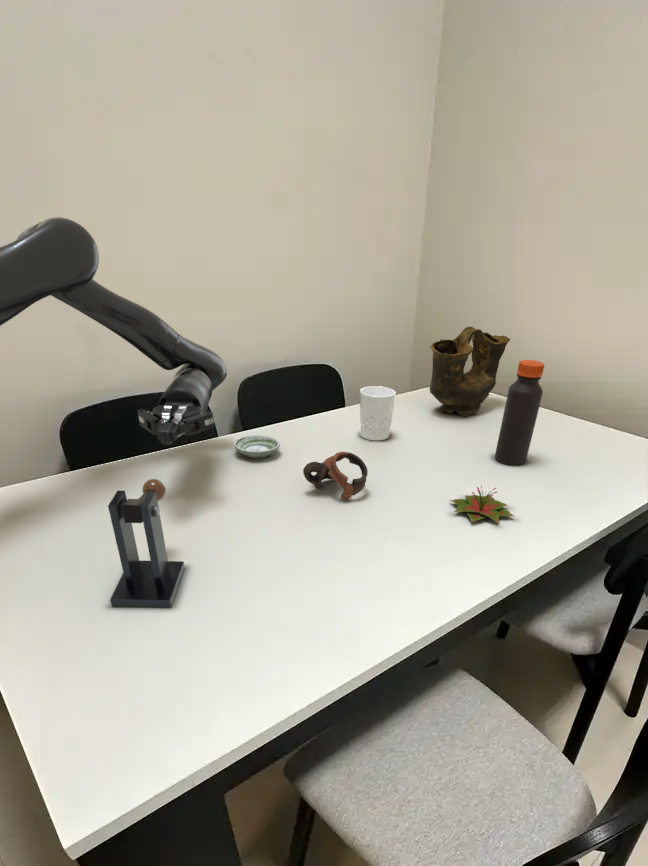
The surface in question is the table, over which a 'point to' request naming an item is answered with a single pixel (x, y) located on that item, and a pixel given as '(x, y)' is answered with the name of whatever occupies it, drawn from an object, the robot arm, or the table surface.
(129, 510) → the lever
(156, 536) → the bracket
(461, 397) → the pottery vessel
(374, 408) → the white cup
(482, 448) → the table surface
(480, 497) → the lily flower
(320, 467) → the brown curved ring piece
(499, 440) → the bottle
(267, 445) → the saucer
